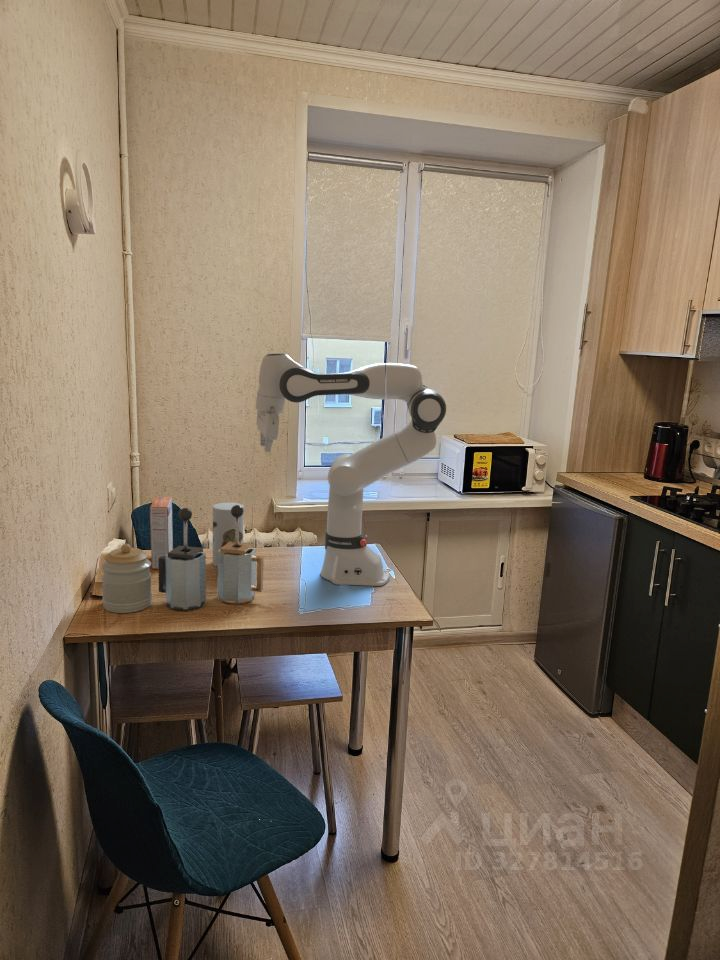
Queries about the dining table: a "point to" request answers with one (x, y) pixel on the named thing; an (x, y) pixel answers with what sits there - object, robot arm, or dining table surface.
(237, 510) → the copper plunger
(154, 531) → the cracker box
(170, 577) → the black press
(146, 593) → the jar
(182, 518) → the black plunger
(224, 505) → the container
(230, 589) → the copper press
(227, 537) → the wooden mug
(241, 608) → the dining table surface
